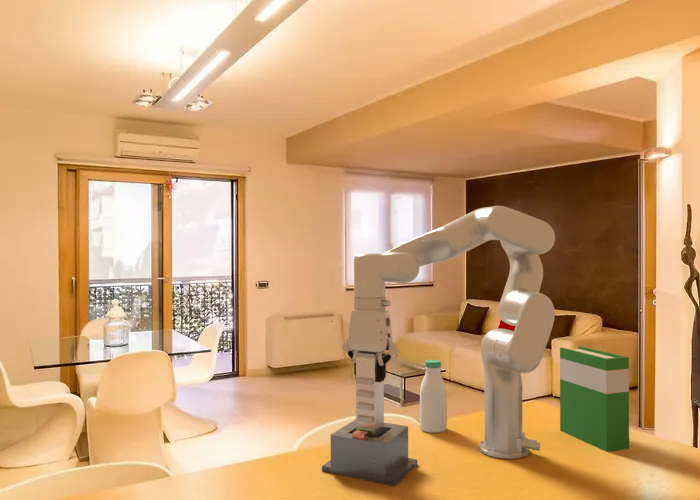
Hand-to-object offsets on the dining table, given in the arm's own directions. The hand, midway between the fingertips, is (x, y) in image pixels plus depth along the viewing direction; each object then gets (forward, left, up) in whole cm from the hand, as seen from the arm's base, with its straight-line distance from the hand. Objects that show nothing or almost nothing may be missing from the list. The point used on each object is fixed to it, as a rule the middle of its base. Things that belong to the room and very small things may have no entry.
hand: (369, 379), depth 133 cm
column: (0, 0, -15) cm, 15 cm away
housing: (0, 0, -21) cm, 21 cm away
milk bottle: (-4, -34, -22) cm, 40 cm away
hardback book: (-46, -46, -22) cm, 69 cm away
